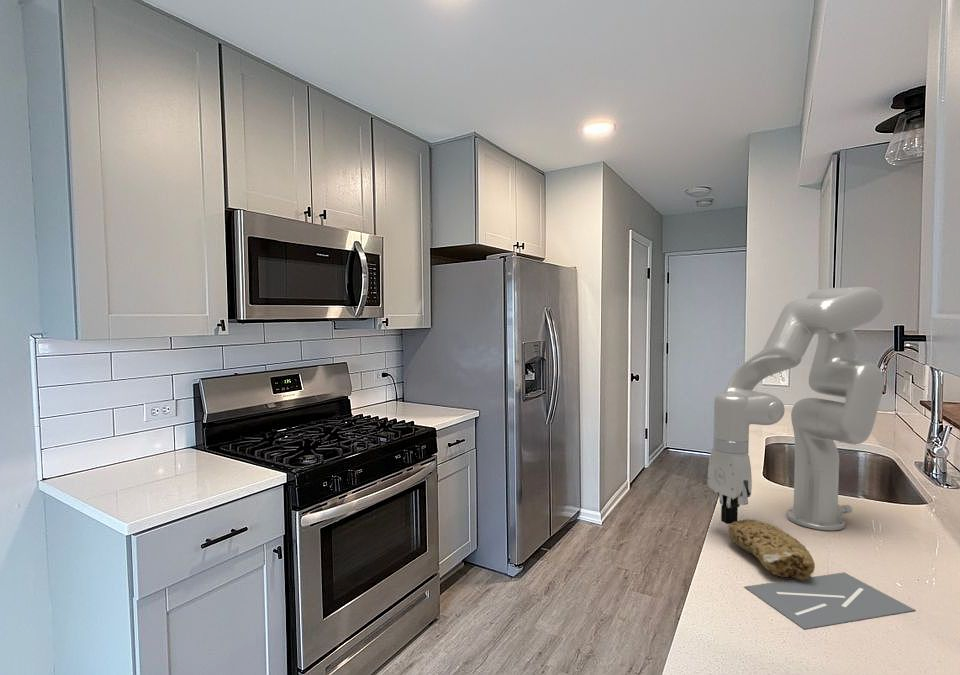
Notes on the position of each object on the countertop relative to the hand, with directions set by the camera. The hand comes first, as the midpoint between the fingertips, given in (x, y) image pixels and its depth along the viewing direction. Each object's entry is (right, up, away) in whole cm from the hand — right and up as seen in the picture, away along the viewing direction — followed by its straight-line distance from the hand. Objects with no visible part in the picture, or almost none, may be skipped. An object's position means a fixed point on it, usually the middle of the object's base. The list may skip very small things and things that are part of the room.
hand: (729, 522), depth 124 cm
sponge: (+3, -4, -11) cm, 12 cm away
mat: (+5, -5, -27) cm, 28 cm away
